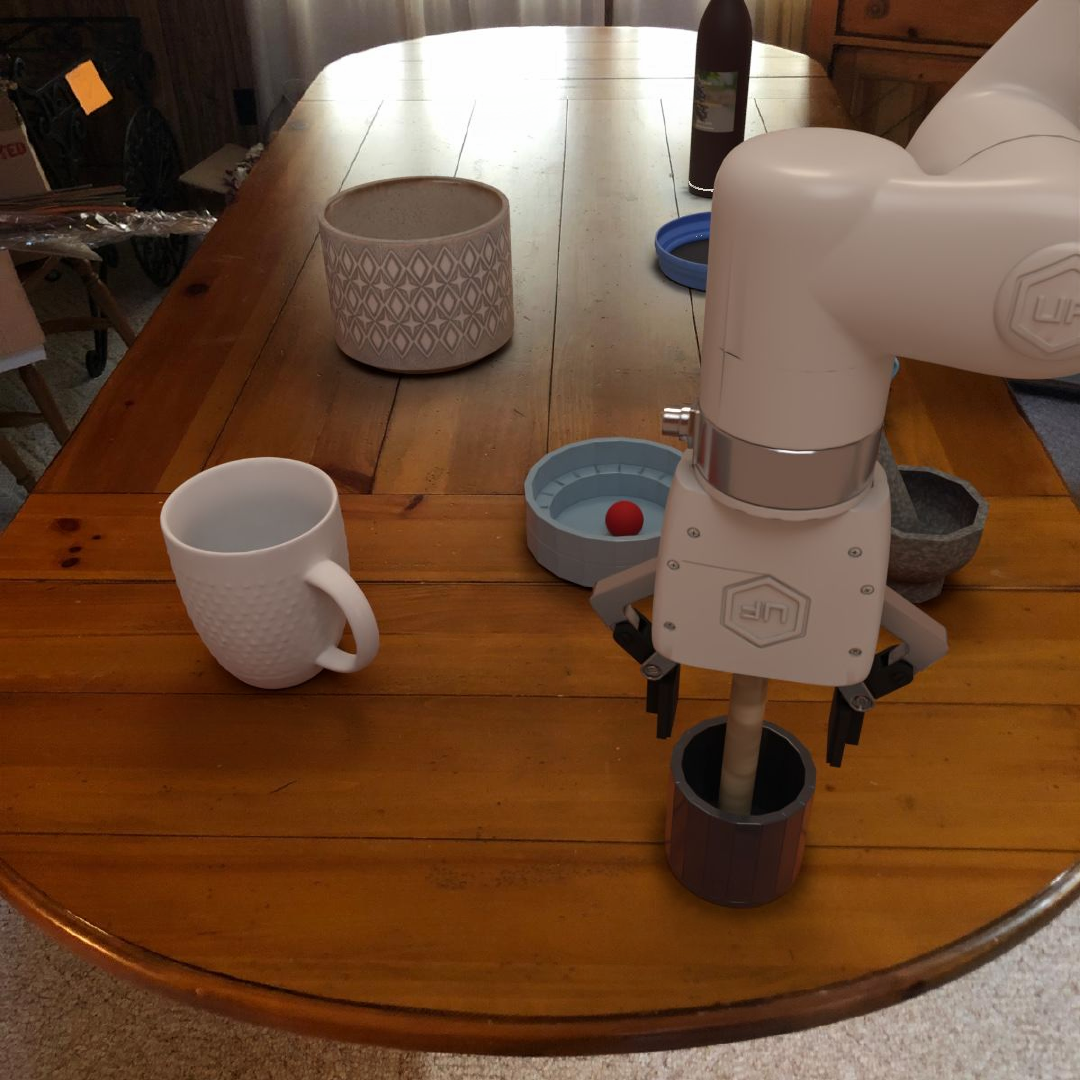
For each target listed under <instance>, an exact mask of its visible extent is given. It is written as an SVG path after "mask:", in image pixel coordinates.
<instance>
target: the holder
mask: <svg viewBox="0 0 1080 1080" xmlns="http://www.w3.org/2000/svg"><path fill="white" fill-rule="evenodd" d="M727 717H728V714H725V715H724V714H723V715H719V716H715V717H711V718H706V719H703V720H701V721H700V722H698V723H696V724H695V725H693V726H691V727H689V728H688V729H686V730H685V731H684V732H683V733H682V734H681V736H680V737H679V738H678V740H677V741H676V743H675V744H674V745H673V746H672V752H671V757H670V762H669V773H668V786H667V787H668V788H667V803H666V815H665V816H666V817H665V818H666V819H665V829H664V830H665V831H664V848H665V850H664V851H665V857H666V860H667V863H668V866H669V868H670V869H671V871H672V873H673V874H674V876H675V877H676V879H677V880H678V881H679V882H680V883H681V884H682V885H683V886H684V887H685V888H686V889H687V890H688V891H689V892H691V893H692V894H694V895H696V896H697V897H699V898H700V899H703V900H705V901H707V902H709V903H712V904H715V905H719V906H723V907H728V908H734V909H735V908H737V909H746V908H754V907H758V906H759V907H760V906H763V905H766V904H769V903H771V902H773V901H775V900H777V899H778V898H781V896H783V895H784V894H785V893H787V891H789V889H790V888H791V887H792V886H793V885H794V883H795V881H796V880H797V878H798V875H799V872H800V869H801V867H802V863H803V857H804V853H805V852H804V851H805V847H806V843H807V836H808V831H809V826H810V820H811V816H812V809H813V804H814V799H815V793H816V789H817V774H818V771H817V767H816V765H815V762H814V760H813V757H812V755H811V752H810V751H809V749H808V748H807V747H806V746H805V745H804V743H803V742H801V741H800V739H799V738H797V736H796V734H795V735H794V734H793V733H792V732H791V731H788V730H787V729H785V728H784V727H782V726H780V725H778V724H777V723H775V722H772V721H769V720H767V719H764V720H763V727H762V735H761V742H760V749H759V756H758V763H757V770H756V778H755V785H754V792H753V799H752V806H751V813H750V815H736V814H733V813H730V812H727V811H723V810H720V809H717V807H718V798H719V789H720V780H721V771H722V762H723V753H724V744H725V735H726V726H727Z"/></svg>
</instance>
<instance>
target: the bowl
mask: <svg viewBox="0 0 1080 1080" xmlns="http://www.w3.org/2000/svg"><path fill="white" fill-rule="evenodd" d="M710 223H711V211H702V212H695V213H691V214H687V215H683V216H680V217H676V218H675V219H672V220H670V221H668V222H666V223H665V224H663V225H662V226H660V227H659V228H658V229H657V231H656V233H655V235H654V242H653V244H654V248H655V253H656V256H657V258H658V266H659V268H660V270H661V271H662V273H663V274H664V275H665V276H666V277H668V278H669V279H671V281H674V282H675V283H678V284H680V285H683V286H685V287H688V288H692V289H696V290H699V291H704V292H706V285H707V269H708V254H709V239H710ZM701 235H702V236H701ZM696 236H697V237H696Z"/></svg>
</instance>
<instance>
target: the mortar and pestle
mask: <svg viewBox="0 0 1080 1080" xmlns="http://www.w3.org/2000/svg"><path fill="white" fill-rule="evenodd" d="M885 425H886V424H885V421H884V422H883V427H882V433H881V438H880V444H879V449H878V454H877V461H878V462H879V463H880V464H881V466H882V467H883V469H884V470H885V473H886V476H887V483H888V486H889V491H890V503H891V540H890V552H889V563H888V571H887V579H886V585H887V586H888V587H890V588H891V589H892V590H894V591H895V592H897V593H898V594H899V595H901V596H902V597H903V598H905V599H906V600H908V601H909V602H910V603H912V604H922V603H924V602H926V601H929V600H931V599H933V598H936V597H938V596H940V595H941V592H942V589H943V586H944V583H945V579H946V577H947V576H950V575H953V574H955V573H957V572H959V571H961V569H962V568H964V567H965V566H966V565H968V564H969V563H970V562H971V561H972V559H973V558H974V555H975V553H976V552H977V550H978V548H979V546H980V543H981V540H982V536H983V532H984V528H985V525H986V521H987V517H988V513H989V509H990V506H991V505H990V503H989V502H988V501H987V500H986V499H985V498H984V496H982V495H981V493H980V492H979V491H978V490H977V489H976V488H975V487H974V486H973V484H971V482H970V481H968V480H966V479H963V478H962V477H961V478H960V477H958V476H956V475H953V474H950V473H948V472H945V471H943V470H940V469H937V468H935V467H932V466H929V465H928V466H926V465H905V464H897V462H896V459H895V457H894V454H893V452H892V450H891V447H890V445H889V442H888V440H887V436H886V435H885V432H884V429H885V428H884V427H885Z"/></svg>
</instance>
